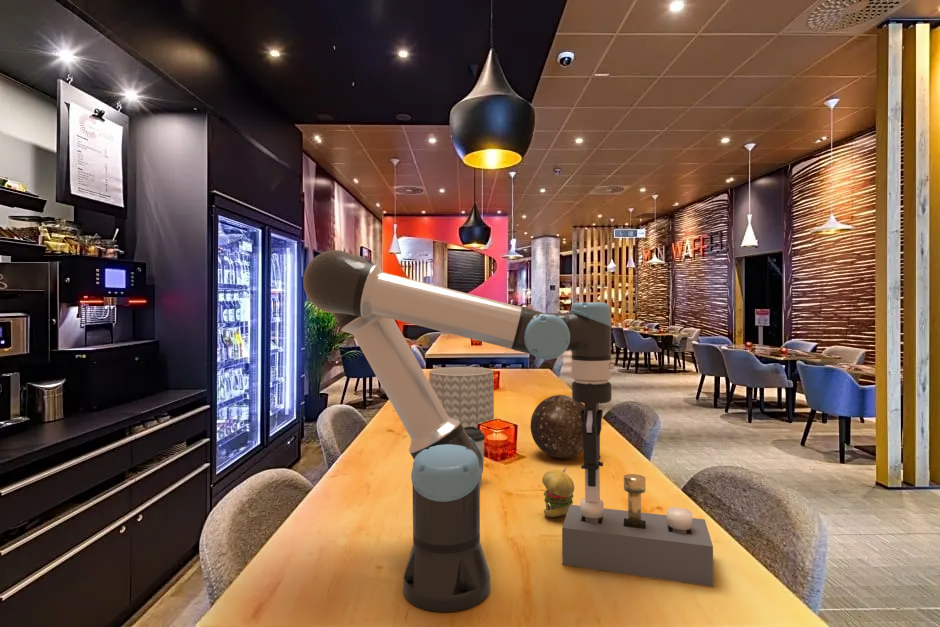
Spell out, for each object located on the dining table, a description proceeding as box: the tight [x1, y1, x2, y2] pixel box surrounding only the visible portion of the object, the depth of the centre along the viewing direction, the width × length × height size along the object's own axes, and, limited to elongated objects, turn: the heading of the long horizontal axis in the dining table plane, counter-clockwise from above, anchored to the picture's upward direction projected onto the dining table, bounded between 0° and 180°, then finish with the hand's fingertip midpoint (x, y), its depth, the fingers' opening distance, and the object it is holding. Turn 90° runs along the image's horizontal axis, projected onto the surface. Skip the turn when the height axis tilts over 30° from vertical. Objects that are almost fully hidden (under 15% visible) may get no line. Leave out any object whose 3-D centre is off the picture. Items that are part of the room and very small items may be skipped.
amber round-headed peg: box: [623, 473, 647, 528], centre depth 100 cm, size 4×4×10 cm
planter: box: [428, 366, 495, 428], centre depth 203 cm, size 25×25×24 cm
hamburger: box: [541, 466, 575, 518], centre depth 121 cm, size 8×7×12 cm
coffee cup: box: [464, 426, 486, 485], centre depth 144 cm, size 9×9×15 cm
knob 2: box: [666, 506, 693, 534], centre depth 98 cm, size 4×4×10 cm
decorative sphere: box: [529, 394, 585, 459], centre depth 168 cm, size 20×20×20 cm
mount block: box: [561, 504, 714, 587], centre depth 100 cm, size 12×26×7 cm, turn 72°
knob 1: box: [580, 497, 604, 523], centre depth 103 cm, size 4×4×10 cm
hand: (592, 500), depth 102 cm, fingers closed
